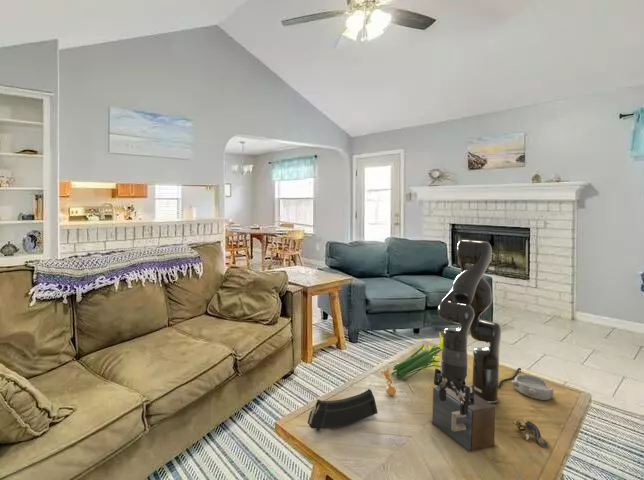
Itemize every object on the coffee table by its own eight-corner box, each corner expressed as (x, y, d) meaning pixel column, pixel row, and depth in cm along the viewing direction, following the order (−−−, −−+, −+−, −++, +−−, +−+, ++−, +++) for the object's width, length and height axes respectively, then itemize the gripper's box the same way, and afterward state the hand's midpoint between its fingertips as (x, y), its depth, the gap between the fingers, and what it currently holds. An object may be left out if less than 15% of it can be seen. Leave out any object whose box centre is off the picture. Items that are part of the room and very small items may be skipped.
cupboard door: (456, 453, 126) (457, 413, 125) (420, 424, 141) (421, 388, 141) (471, 450, 127) (472, 411, 127) (434, 422, 143) (435, 386, 142)
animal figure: (510, 433, 135) (539, 443, 127) (512, 412, 138) (541, 421, 130) (521, 440, 138) (550, 450, 130) (523, 419, 140) (552, 428, 133)
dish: (535, 384, 172) (535, 373, 172) (562, 401, 159) (563, 389, 158) (504, 384, 172) (505, 373, 172) (529, 401, 158) (529, 389, 158)
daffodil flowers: (380, 369, 187) (432, 342, 198) (402, 396, 176) (455, 366, 187) (388, 350, 177) (442, 323, 188) (412, 378, 166) (467, 347, 177)
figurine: (401, 399, 158) (402, 371, 158) (389, 401, 156) (390, 373, 156) (388, 389, 166) (388, 363, 166) (376, 391, 164) (377, 364, 164)
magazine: (377, 388, 149) (317, 380, 138) (383, 392, 146) (323, 384, 135) (366, 431, 148) (305, 427, 137) (372, 436, 145) (310, 432, 134)
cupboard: (471, 450, 127) (472, 410, 127) (434, 422, 143) (435, 386, 142) (494, 445, 130) (495, 406, 130) (455, 418, 146) (457, 383, 145)
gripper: (481, 368, 121) (480, 418, 121) (446, 350, 135) (444, 394, 135) (463, 371, 119) (461, 421, 119) (429, 352, 133) (427, 397, 133)
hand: (452, 407), depth 127 cm, fingers open, 8 cm apart
